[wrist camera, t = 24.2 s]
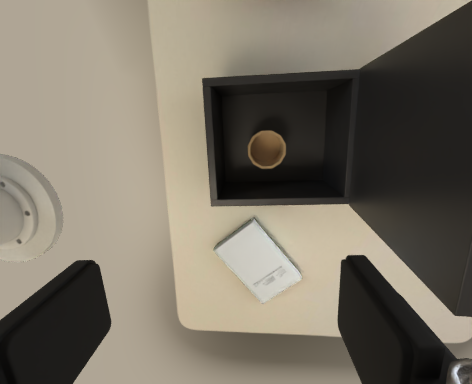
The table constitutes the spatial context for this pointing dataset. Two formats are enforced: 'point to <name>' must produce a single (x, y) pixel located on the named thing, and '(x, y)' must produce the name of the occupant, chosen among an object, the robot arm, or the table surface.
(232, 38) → the table surface
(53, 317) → the robot arm
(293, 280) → the hard drive
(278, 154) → the wooden cup
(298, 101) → the open storage box
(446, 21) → the lid
